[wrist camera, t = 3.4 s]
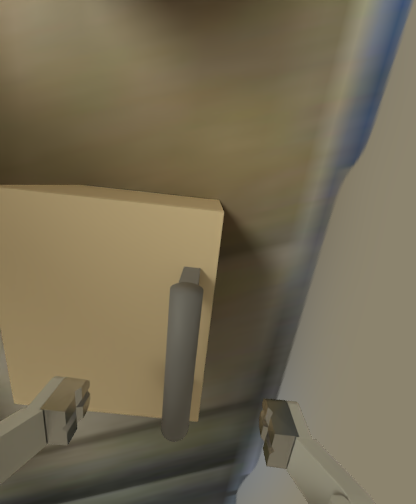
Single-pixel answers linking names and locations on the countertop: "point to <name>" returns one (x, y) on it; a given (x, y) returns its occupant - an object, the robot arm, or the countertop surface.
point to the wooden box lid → (108, 300)
